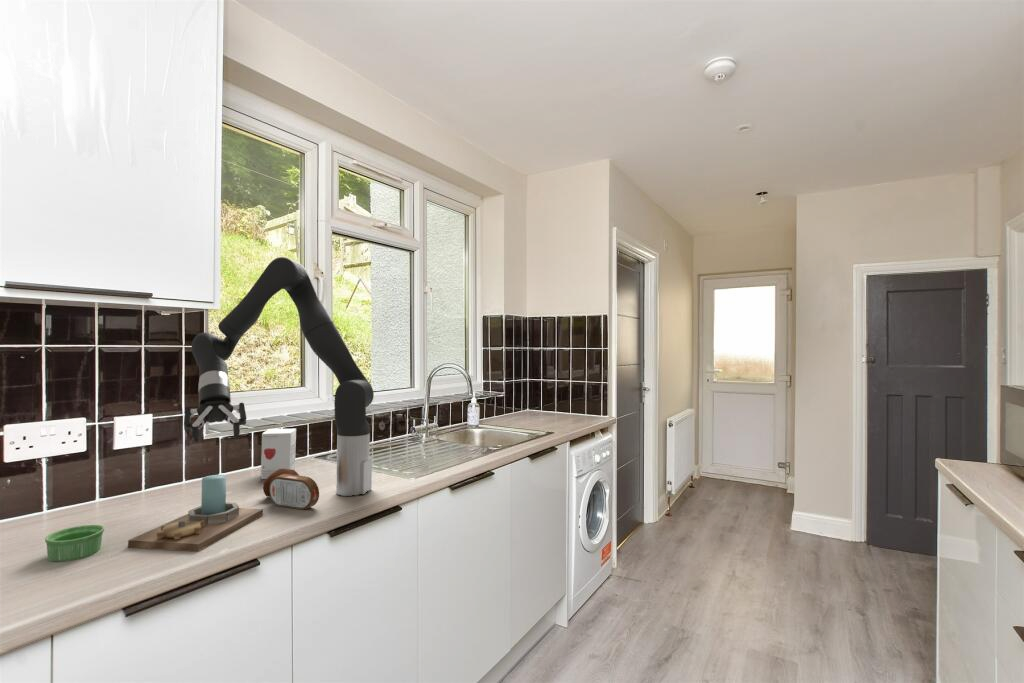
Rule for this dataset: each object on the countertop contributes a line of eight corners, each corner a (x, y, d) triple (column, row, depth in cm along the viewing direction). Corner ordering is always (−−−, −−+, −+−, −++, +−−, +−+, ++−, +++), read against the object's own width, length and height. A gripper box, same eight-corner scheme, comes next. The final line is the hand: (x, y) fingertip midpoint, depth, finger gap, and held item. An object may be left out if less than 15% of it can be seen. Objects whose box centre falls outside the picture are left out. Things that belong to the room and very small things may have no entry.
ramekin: (35, 566, 93) (35, 544, 93) (57, 548, 101) (57, 527, 101) (93, 559, 96) (94, 537, 96) (110, 542, 105) (110, 522, 105)
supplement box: (259, 479, 154) (260, 433, 155) (267, 472, 163) (267, 428, 163) (290, 478, 156) (291, 432, 157) (295, 471, 165) (296, 427, 165)
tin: (319, 508, 128) (320, 477, 128) (311, 512, 125) (311, 480, 125) (275, 502, 133) (276, 471, 133) (266, 505, 130) (266, 474, 130)
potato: (309, 492, 142) (309, 465, 142) (276, 503, 132) (276, 474, 132) (290, 488, 145) (291, 462, 145) (256, 499, 135) (257, 471, 135)
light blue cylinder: (230, 513, 118) (231, 475, 118) (215, 520, 113) (216, 480, 114) (211, 512, 119) (212, 474, 119) (195, 519, 114) (197, 479, 114)
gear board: (262, 515, 122) (263, 499, 122) (198, 551, 100) (198, 532, 100) (204, 512, 124) (204, 496, 124) (127, 547, 102) (128, 528, 102)
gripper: (183, 384, 129) (183, 434, 120) (243, 380, 137) (248, 427, 128) (184, 401, 134) (184, 451, 125) (242, 396, 142) (247, 443, 132)
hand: (216, 439), depth 126 cm, fingers open, 8 cm apart
